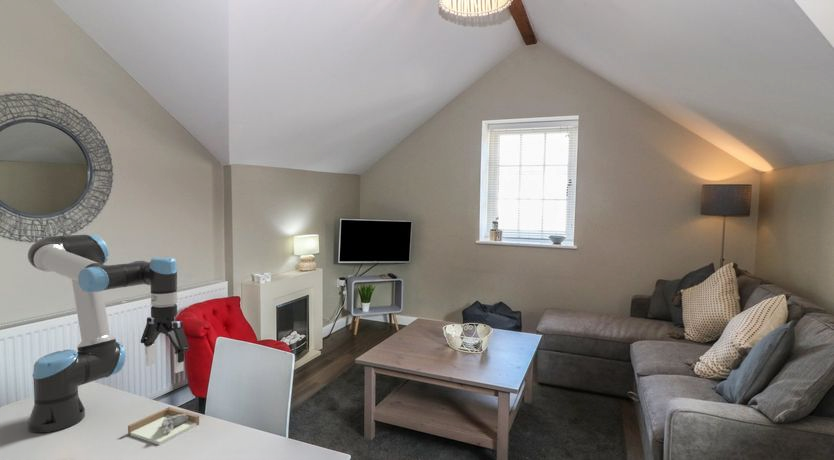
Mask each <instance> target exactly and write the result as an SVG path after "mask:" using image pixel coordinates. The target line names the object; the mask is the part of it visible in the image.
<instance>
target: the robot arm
mask: <svg viewBox="0 0 834 460" xmlns="http://www.w3.org/2000/svg"><path fill="white" fill-rule="evenodd" d="M27 251H28V252H27V259H28V262H29V263H30V265H31V266H33V267H34V268H35V269H38V270H39V271H42V272H46V273H48V272H54V273H55V274H58V275H61V276H63V277H66V278H69V279H71V283H72V284H71V285H72V290H73V296H74V302H75V308H76V315H77V322H78V327H79V333H80V339H81V341H80V343H79V344H78V345H77V347H76V348H77V349H76V350H75V349H64V350H59V351H53V352H51V353H48V354H46V355H44V356H42V357H40V358H38V359H37V360H36V361H35V362H34V364H33V372H32V378H33V396H34V397H33V400H34V404H33V407H32V410H31V412H30V416H29V418H28V421H27V429H28V431H29V432H31V433H32V432H33V433H50V432H55V431H59V430H62V429H66V428H69V427H71V426H74V425H75V424H77V423H80V422H81V421H83V419H84V418H85V417H86V409H85V407H84V405H83V402H82V401H81V398H80V396H79V387H80V386H82V385H85V384H89V383H92V382H95V381H99V380H101V379H105V378H109V377H111V376H113V375H116V374H118V373H119V372H121V371H122V369H123V367H124V365H125V363H126V357H127V355H126V354H127V353H126V349H125V347H124V344H122V343H121V342H119V341H117V340H116V337H114V336H113V335H111V333H110V329H109V321H108V320H109V319H108V315H107V308H106V304H105V303H106V302H105V297H104V291H108V290H114V289H121V288H127V287H128V288H129V287H134V286H141V285H147V286H150V305H151V307H150V317H146V324H145V327H144V330H143V333H142V336H141V338H140V343H141V344H143V345H144V347H145V356H146V359H145V360H146V361H145V363H146V364H145V365H146V367H149V366H152V365H155V364H156V342H155V341H156V340H157V339H158V337H159V335H160V334H165V336H166V337H168V339H169V340H170V343H171V345H172V346H173V348H174V350H175V352H174V353H173V354H174V355H173V356H174V374H178V373H180V372H183V371H185V369H184V364H185V363H184V361H185V352H186V351H189V350H190V348H191V347H190V345H189V343H188V339H187V337H186V334H185V331H184V328H183V321H182V320H179V321H177V320H175V317H176V316H177V315H178V305H177V303H178V268H177V267H178V266H177V260H176V258H175V257H170V256H168V257H167V256H163V257H162V256H161V257H159V256H158V257H153V258H151V259H150V261H146V260H134V261H131V262H128V263H121V264H120V263H119V264H110V265H107V264H106V263H107V262H108V260H109V256H110V252H109V248H108V244H107V243H106V241H105V239H103V238H102V237H100V236H99V235H96V234H86V233H85V234H76V235H75V234H74V235H72V234H71V235H54V236H53V235H51V236H46V237H43V238H41V239H39V240H37V241H35V242H34V243H33V244H32V245H31V246H30V247H29V250H27Z"/></svg>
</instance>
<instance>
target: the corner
mask: <svg viewBox="0 0 834 460" xmlns="http://www.w3.org/2000/svg"><path fill="white" fill-rule="evenodd" d="M179 414H180V415H181V414H187V415H188V418H189V419H188V420H187V421H185V422H183V423H181V424H178V425H176V426H174V427H173V429H172V430H171V431H170V432H166V433H163V429H161V430H159V429H160V428H162V422H163V421H164V419H167V418H170V417H172V416H175V415H179ZM198 425H200V415H199V414H195V413H194V414H193V413H191V412H187V411H185V410H181V409H176V408H174V407H165V408H163V409H162V410H160V411H157V412H154V413H153V414H151V415H150V414H149V416H146V417H143V418H142V419H139V420H138V421H136V422H134V423H131V424H128V425H127V434H128V435H129V436H132V437H134V438H137V439H140V440H142V441H146V442H149V443H153V444H156V445H158V446H161V445H162V444H164V443H167V442H168V441H170V440H172V439H174V438H176V437H177V436H179V435H181V434H183V433H185V432H188V431H189V430H190V429H193V428H194V427H197V426H198Z"/></svg>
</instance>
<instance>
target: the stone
mask: <svg viewBox="0 0 834 460" xmlns="http://www.w3.org/2000/svg"><path fill="white" fill-rule="evenodd" d="M188 419H189V418H188V415H187V414H181V415H180V414H179V415H175V416H172V417H170V418H167V419H164V421H163V422H162V428H160V429H159V430H161V429H163V433H166V432H170V431H171V430H172V429H173V427H174V426H176V425H178V424H181V423H183V422H185V421H187V420H188Z"/></svg>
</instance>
